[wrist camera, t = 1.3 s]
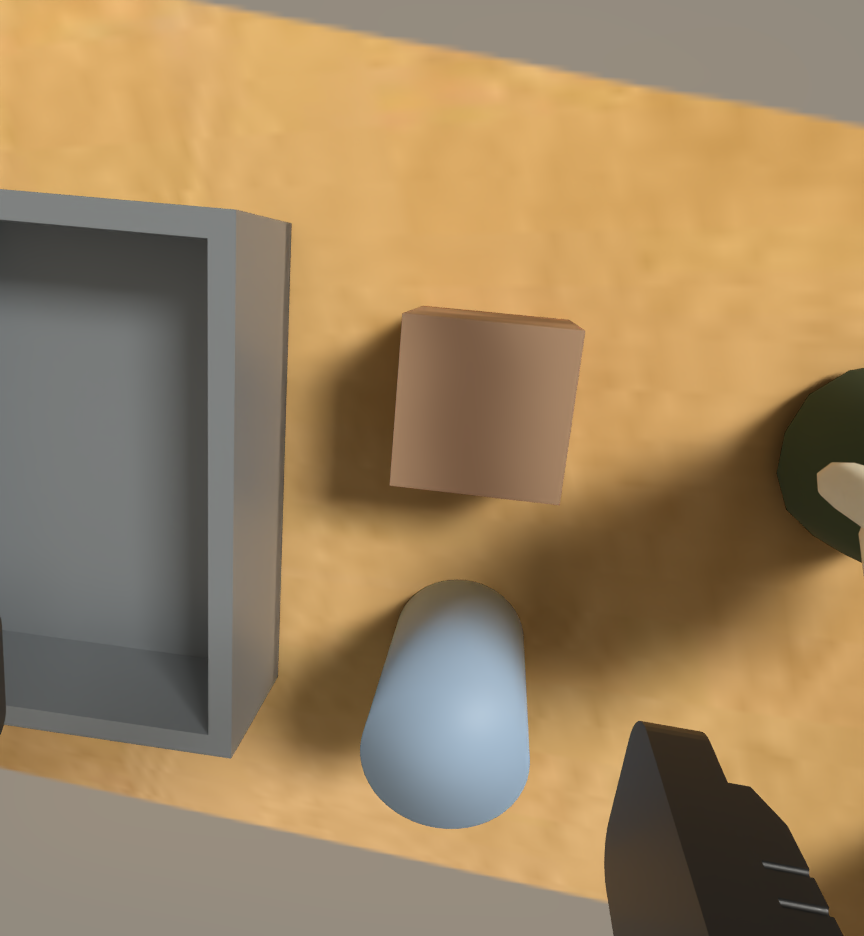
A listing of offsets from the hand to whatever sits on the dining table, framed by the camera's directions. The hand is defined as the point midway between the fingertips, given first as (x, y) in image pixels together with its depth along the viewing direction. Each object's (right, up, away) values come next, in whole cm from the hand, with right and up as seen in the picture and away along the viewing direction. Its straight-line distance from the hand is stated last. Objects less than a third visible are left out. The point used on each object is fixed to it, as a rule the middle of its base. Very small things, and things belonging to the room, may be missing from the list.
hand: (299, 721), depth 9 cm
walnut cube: (+4, +6, +16) cm, 17 cm away
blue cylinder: (+3, -4, +18) cm, 19 cm away
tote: (-11, +4, +18) cm, 21 cm away
